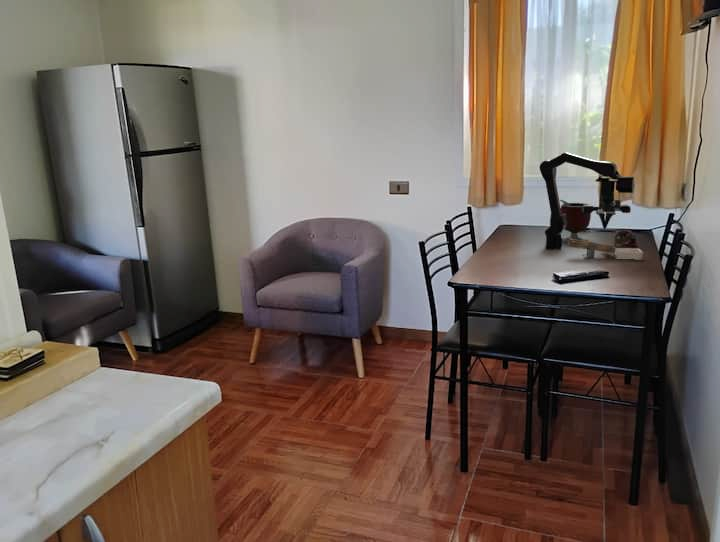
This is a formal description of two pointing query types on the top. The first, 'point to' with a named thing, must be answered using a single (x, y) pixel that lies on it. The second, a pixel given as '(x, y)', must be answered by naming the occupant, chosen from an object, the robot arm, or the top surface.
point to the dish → (628, 254)
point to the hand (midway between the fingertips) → (604, 228)
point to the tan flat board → (591, 245)
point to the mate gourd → (575, 219)
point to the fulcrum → (590, 254)
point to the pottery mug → (625, 237)
